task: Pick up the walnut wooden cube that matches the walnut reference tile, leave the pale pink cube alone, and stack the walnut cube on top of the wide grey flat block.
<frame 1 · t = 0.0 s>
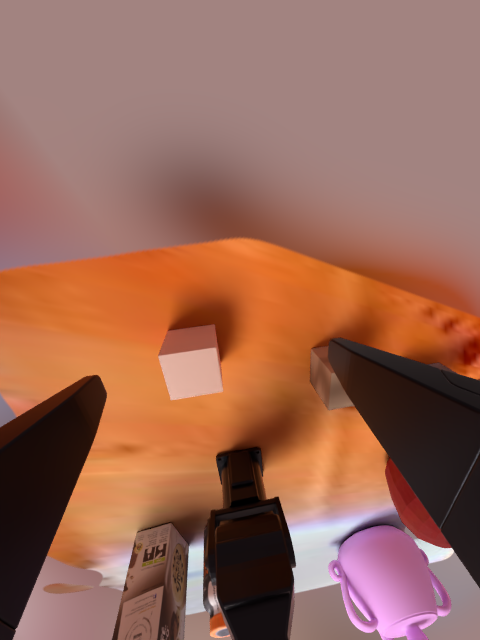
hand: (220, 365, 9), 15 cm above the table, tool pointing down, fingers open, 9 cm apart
pale pink cube: (195, 347, 25), on the table
pill bottle: (220, 525, 40), on the table
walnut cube: (329, 362, 28), on the table
apple: (397, 455, 38), on the table
coffee box: (164, 538, 39), on the table
pink pot: (363, 544, 51), on the table
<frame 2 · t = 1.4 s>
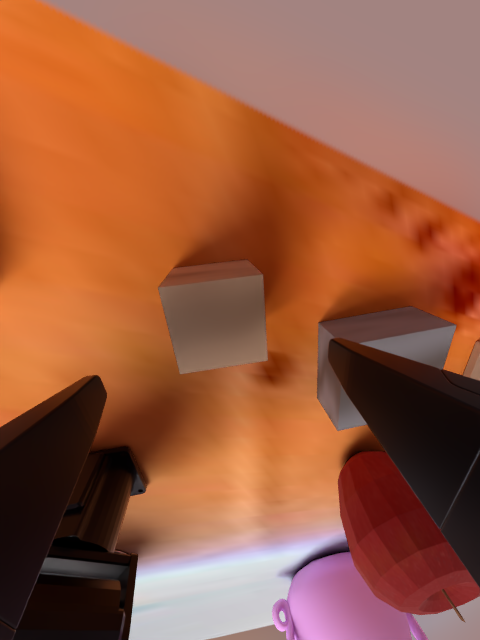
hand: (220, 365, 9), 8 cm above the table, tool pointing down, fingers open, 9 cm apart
grey flat block: (358, 353, 20), on the table
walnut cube: (215, 298, 16), on the table
apple: (359, 458, 26), on the table
pink pot: (327, 573, 39), on the table
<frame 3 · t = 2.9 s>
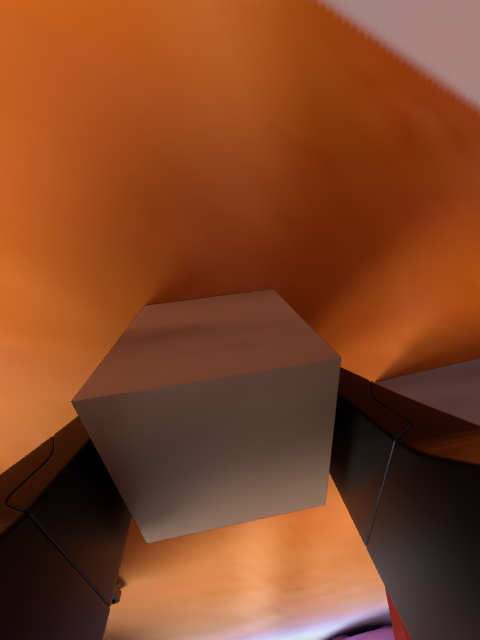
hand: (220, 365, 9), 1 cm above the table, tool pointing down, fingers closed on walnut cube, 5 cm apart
grey flat block: (427, 415, 14), on the table
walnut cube: (218, 351, 10), on the table, touching gripper
apple: (407, 535, 20), on the table
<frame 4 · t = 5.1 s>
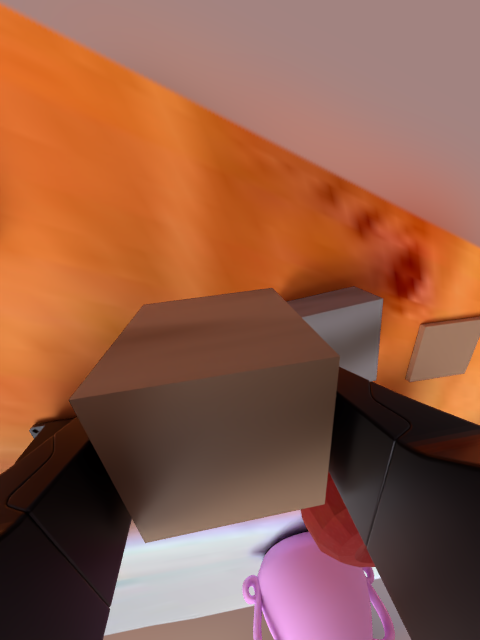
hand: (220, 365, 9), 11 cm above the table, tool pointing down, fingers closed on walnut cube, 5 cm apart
grey flat block: (313, 332, 22), on the table
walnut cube: (218, 351, 10), point 10 cm above the table, touching gripper
apple: (321, 436, 28), on the table
reference tile: (441, 349, 25), on the table
pink pot: (298, 554, 40), on the table
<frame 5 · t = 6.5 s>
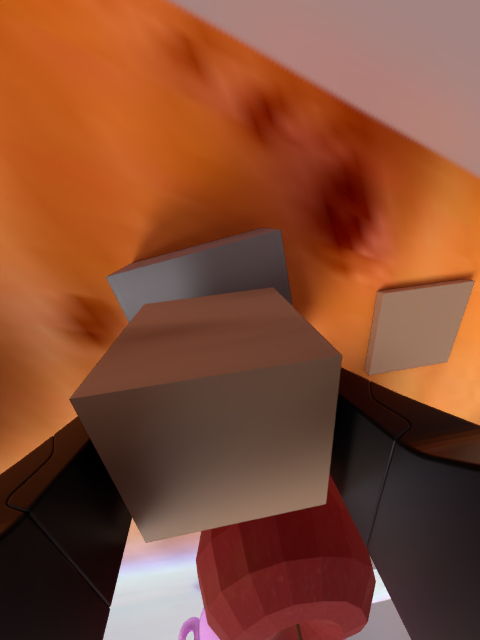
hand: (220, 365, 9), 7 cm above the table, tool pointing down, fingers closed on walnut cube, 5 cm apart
grey flat block: (216, 304, 15), on the table
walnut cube: (218, 350, 10), point 6 cm above the table, touching gripper
apple: (258, 448, 21), on the table
reference tile: (411, 327, 18), on the table
pink pot: (258, 585, 34), on the table
when the fingers open (6 cm above the table, at t = 7.3 s): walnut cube drops 2 cm, point 4 cm above the table.
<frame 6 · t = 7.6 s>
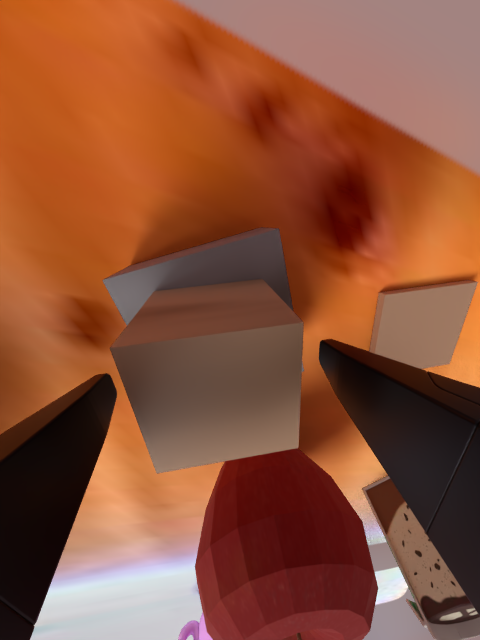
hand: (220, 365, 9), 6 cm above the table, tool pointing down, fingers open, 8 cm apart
grey flat block: (215, 306, 15), on the table
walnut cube: (216, 332, 11), point 4 cm above the table
apple: (259, 451, 21), on the table
food container: (404, 480, 27), on the table
reference tile: (413, 329, 17), on the table
pink pot: (258, 588, 33), on the table
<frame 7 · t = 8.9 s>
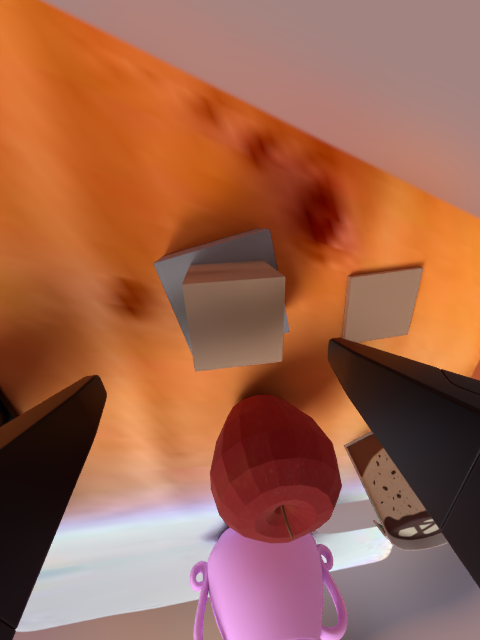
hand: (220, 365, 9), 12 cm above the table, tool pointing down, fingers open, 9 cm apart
grey flat block: (224, 286, 20), on the table
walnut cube: (229, 297, 16), point 4 cm above the table
apple: (257, 408, 26), on the table
food container: (380, 440, 32), on the table
reference tile: (377, 306, 22), on the table
pink pot: (257, 540, 38), on the table
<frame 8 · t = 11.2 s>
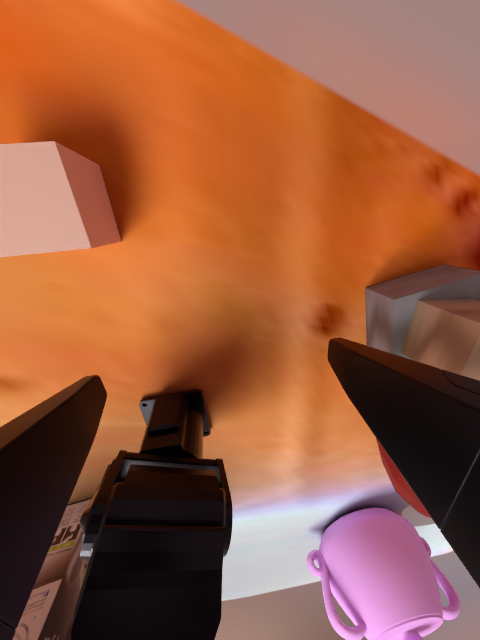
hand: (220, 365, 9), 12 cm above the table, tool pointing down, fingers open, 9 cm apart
pale pink cube: (75, 208, 16), on the table
grey flat block: (400, 311, 24), on the table
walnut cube: (434, 326, 20), point 4 cm above the table
apple: (392, 411, 30), on the table
coffee box: (91, 519, 30), on the table
pink pot: (352, 532, 42), on the table
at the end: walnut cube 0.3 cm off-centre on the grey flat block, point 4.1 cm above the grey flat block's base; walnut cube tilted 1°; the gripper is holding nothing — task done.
